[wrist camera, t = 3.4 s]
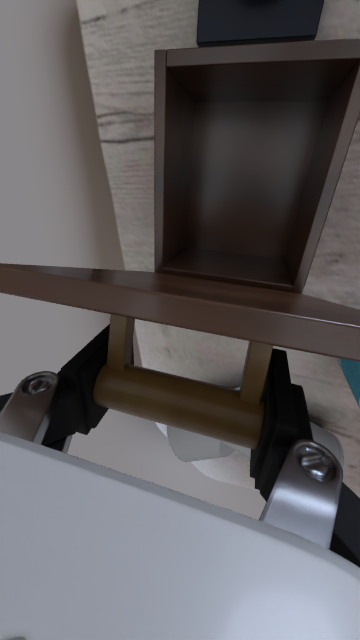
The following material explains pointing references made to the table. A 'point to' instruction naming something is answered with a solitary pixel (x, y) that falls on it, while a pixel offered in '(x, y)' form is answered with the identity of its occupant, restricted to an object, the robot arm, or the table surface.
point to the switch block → (257, 21)
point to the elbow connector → (205, 447)
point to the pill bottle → (352, 376)
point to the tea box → (250, 157)
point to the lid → (196, 314)
